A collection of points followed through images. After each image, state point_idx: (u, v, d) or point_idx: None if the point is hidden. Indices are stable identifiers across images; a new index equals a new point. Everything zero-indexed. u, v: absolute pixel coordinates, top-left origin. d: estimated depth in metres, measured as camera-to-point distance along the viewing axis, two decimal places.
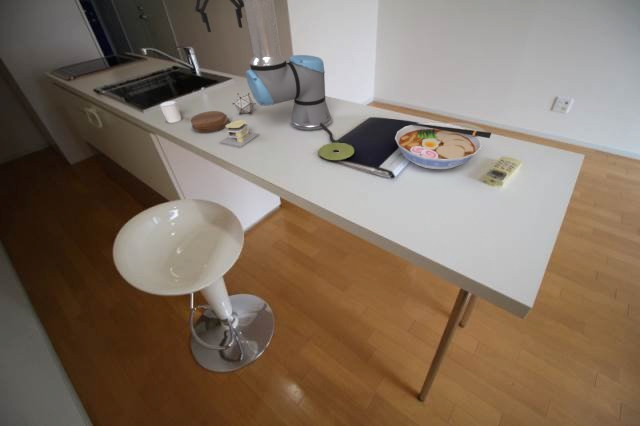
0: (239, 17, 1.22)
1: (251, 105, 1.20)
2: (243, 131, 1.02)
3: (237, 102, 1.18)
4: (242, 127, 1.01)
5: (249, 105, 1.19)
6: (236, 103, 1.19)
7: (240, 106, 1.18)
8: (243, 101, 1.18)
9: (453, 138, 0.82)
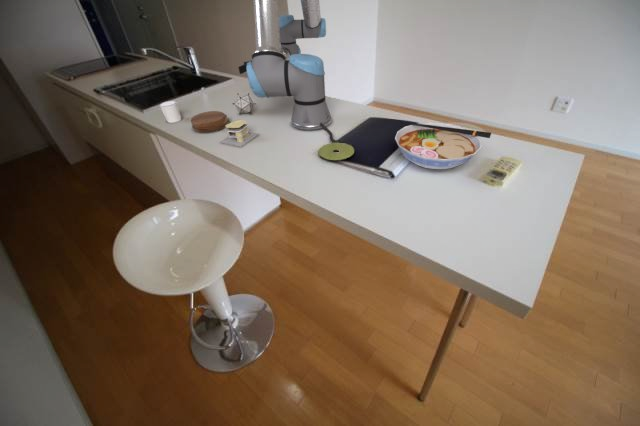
0: None
1: (251, 105, 1.20)
2: (243, 131, 1.02)
3: (237, 102, 1.18)
4: (242, 127, 1.01)
5: (249, 105, 1.19)
6: (236, 103, 1.19)
7: (240, 106, 1.18)
8: (243, 101, 1.18)
9: (453, 138, 0.82)
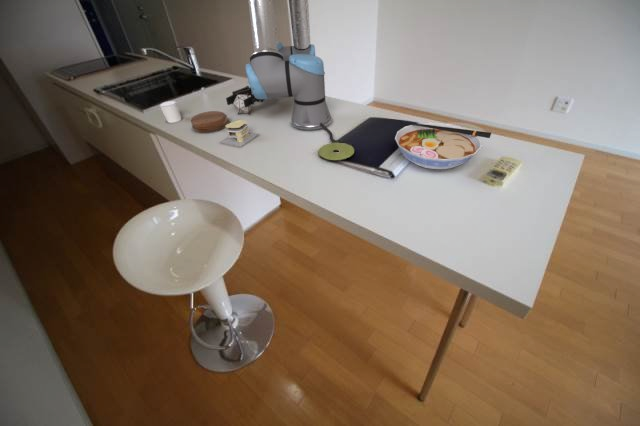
0: (249, 97, 1.16)
1: None
2: (243, 131, 1.02)
3: (235, 102, 1.18)
4: (242, 127, 1.01)
5: None
6: (235, 103, 1.19)
7: (238, 106, 1.18)
8: (241, 101, 1.18)
9: (453, 138, 0.82)
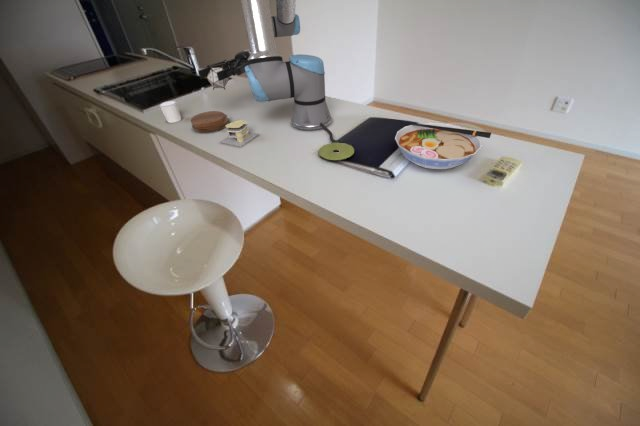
0: (224, 69, 1.05)
1: (225, 79, 1.09)
2: (243, 131, 1.02)
3: (209, 75, 1.07)
4: (242, 127, 1.01)
5: None
6: (208, 77, 1.08)
7: (212, 80, 1.07)
8: (215, 74, 1.06)
9: (453, 138, 0.82)
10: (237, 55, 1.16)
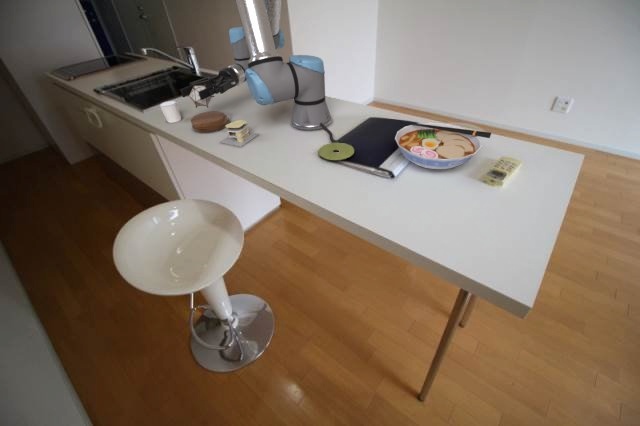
0: (206, 88, 1.03)
1: (208, 98, 1.07)
2: (243, 131, 1.02)
3: (191, 94, 1.06)
4: (242, 127, 1.01)
5: None
6: (190, 95, 1.06)
7: (194, 98, 1.05)
8: (197, 93, 1.05)
9: (453, 138, 0.82)
10: (221, 72, 1.15)
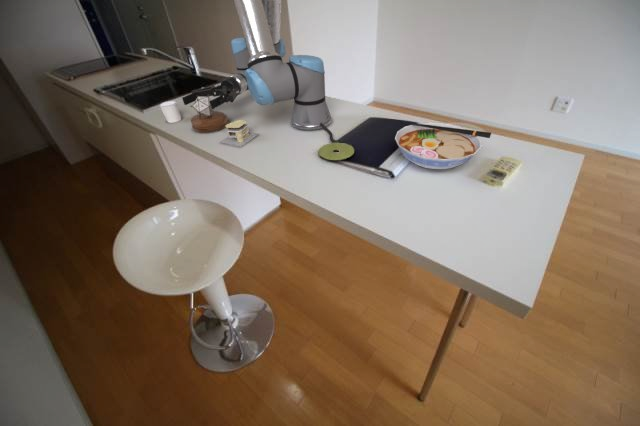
0: None
1: None
2: (243, 131, 1.02)
3: (195, 104, 1.08)
4: (242, 127, 1.01)
5: (208, 108, 1.08)
6: (194, 105, 1.08)
7: (198, 109, 1.08)
8: (201, 103, 1.07)
9: (453, 138, 0.82)
10: (223, 81, 1.17)
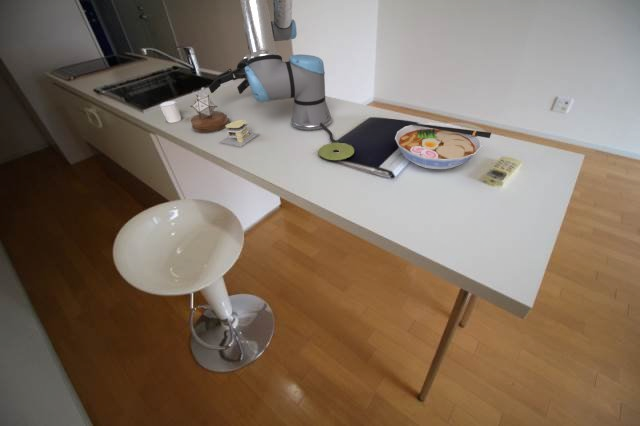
0: (242, 82, 1.14)
1: (211, 108, 1.10)
2: (243, 131, 1.02)
3: (195, 104, 1.08)
4: (242, 127, 1.01)
5: (208, 108, 1.08)
6: (194, 105, 1.08)
7: (198, 109, 1.08)
8: (201, 103, 1.07)
9: (453, 138, 0.82)
10: (240, 64, 1.23)
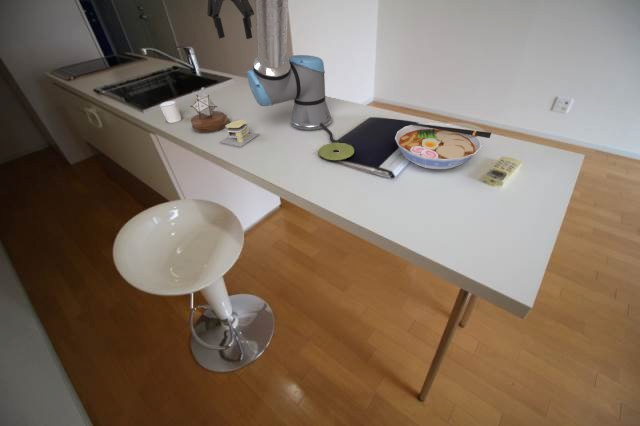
0: (245, 27, 1.07)
1: (211, 108, 1.10)
2: (243, 131, 1.02)
3: (195, 104, 1.08)
4: (242, 127, 1.01)
5: (208, 108, 1.08)
6: (194, 105, 1.08)
7: (198, 109, 1.08)
8: (201, 103, 1.07)
9: (453, 138, 0.82)
10: None
